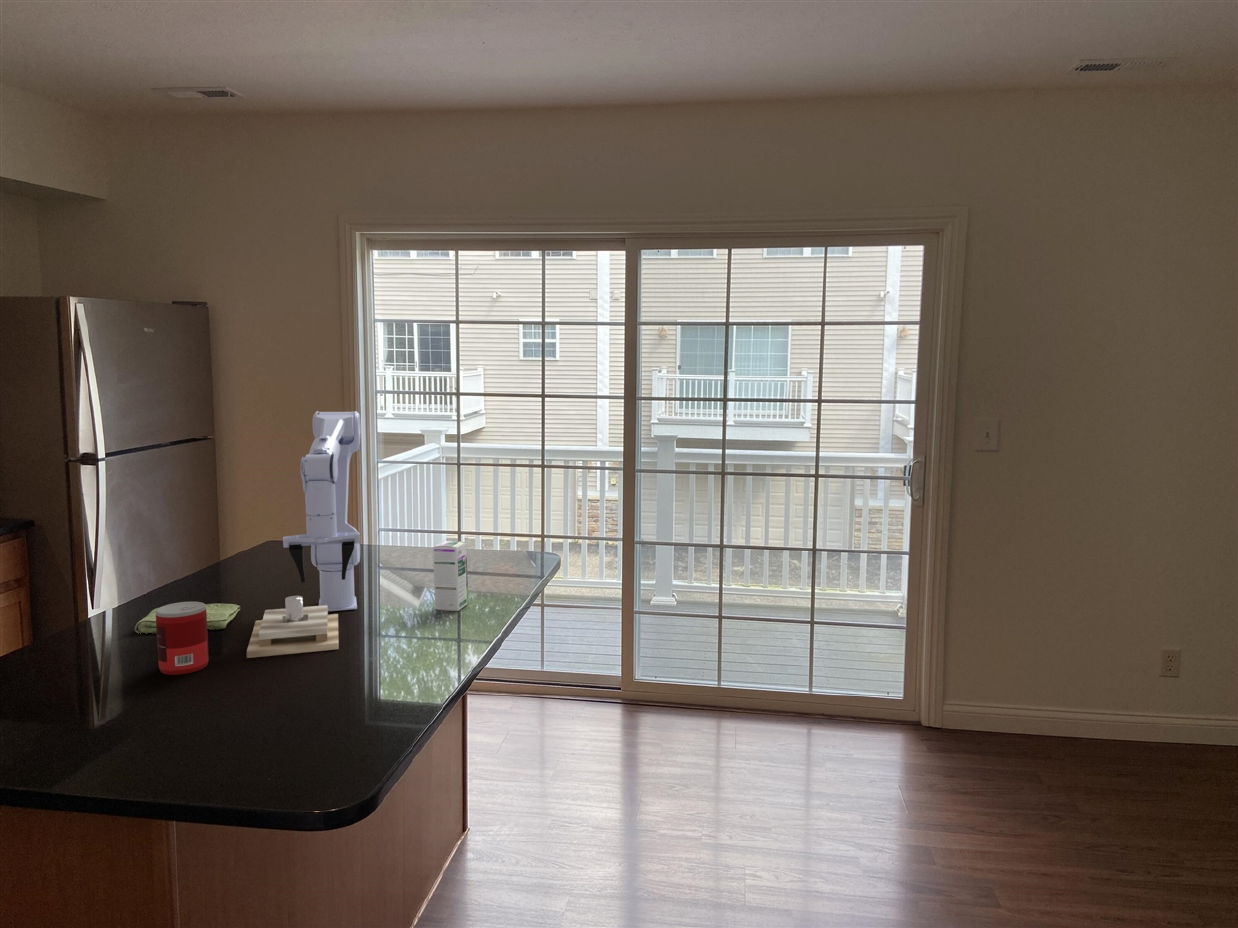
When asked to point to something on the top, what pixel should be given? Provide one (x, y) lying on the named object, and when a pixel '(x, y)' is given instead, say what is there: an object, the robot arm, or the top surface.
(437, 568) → the syrup box
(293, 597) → the tube
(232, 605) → the washcloth
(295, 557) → the robot arm
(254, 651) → the collar stand
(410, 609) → the top surface
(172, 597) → the top surface
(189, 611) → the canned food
